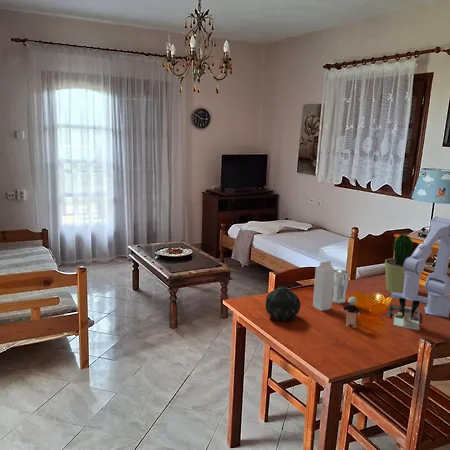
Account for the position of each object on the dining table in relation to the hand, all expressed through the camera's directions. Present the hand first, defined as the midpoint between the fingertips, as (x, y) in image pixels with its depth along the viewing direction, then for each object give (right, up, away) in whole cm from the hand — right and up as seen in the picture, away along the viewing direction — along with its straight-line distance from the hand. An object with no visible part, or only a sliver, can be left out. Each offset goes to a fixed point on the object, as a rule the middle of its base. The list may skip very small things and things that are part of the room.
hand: (407, 316), depth 185 cm
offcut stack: (+1, -3, +7) cm, 7 cm away
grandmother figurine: (-25, -4, -2) cm, 25 cm away
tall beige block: (0, -3, +1) cm, 3 cm away
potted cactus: (+12, +5, +41) cm, 43 cm away
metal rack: (+3, -2, +11) cm, 11 cm away
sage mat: (0, -4, +1) cm, 4 cm away
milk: (-33, +1, +16) cm, 36 cm away
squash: (-52, -1, +5) cm, 53 cm away
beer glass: (-23, +2, +24) cm, 33 cm away
